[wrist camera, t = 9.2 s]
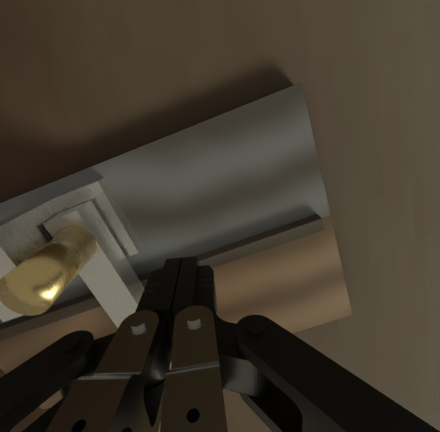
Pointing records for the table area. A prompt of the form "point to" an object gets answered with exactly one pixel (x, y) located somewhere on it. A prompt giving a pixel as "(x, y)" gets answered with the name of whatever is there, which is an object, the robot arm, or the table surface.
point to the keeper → (38, 235)
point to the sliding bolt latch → (211, 224)
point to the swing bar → (74, 267)
